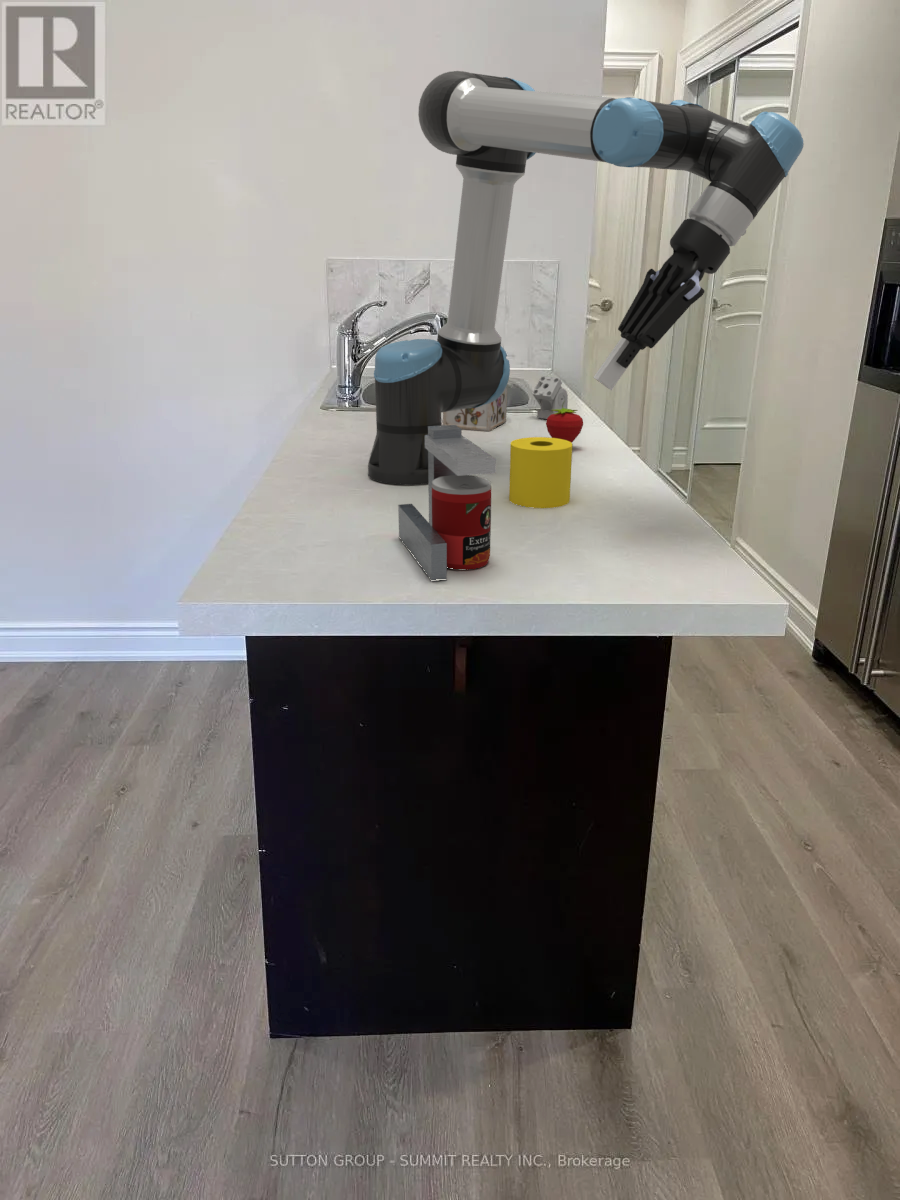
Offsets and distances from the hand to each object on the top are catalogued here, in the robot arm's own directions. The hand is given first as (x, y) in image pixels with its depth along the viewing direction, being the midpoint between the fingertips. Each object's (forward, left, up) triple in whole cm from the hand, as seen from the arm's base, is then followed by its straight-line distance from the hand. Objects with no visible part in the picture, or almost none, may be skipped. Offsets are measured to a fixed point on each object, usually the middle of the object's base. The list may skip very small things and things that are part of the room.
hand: (602, 383), depth 126 cm
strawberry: (-14, +53, -22) cm, 59 cm away
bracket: (-18, -15, -22) cm, 32 cm away
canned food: (-15, -18, -22) cm, 32 cm away
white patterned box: (-38, +72, -22) cm, 85 cm away
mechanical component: (-24, +84, -22) cm, 90 cm away
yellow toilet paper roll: (-11, +15, -22) cm, 29 cm away
